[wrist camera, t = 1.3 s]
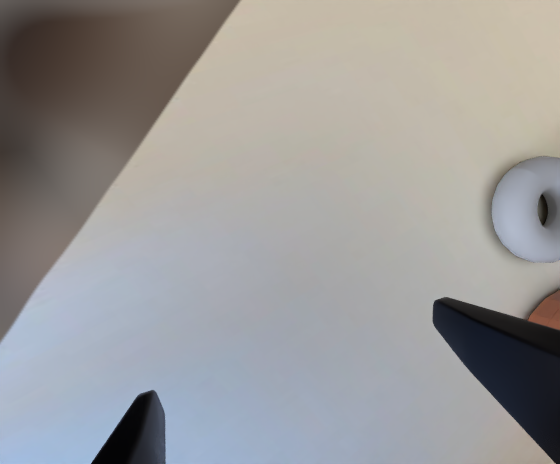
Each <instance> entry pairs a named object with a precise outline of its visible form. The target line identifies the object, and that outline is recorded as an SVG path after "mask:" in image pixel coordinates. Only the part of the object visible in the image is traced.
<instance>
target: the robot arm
mask: <svg viewBox="0 0 560 464" xmlns="http://www.w3.org/2000/svg"><path fill="white" fill-rule="evenodd" d="M433 324H434V326H435V328H436V329H437V330H438V332H439V333H440V334H441V335H442V337H443V338H444V339H445V341H446V342H447V343H448V344H449V346H450V347H451V348H452V350H453V351H454V352H455V353H456V355H457V356H458V357H459V359H460V360H461V361H462V362H463V364H464V365H465V366H466V367H467V368H468V369H469V371H470V372H471V373H472V374H473V375H474V376H475V377H476V378H477V379H478V380H479V381H480V383H481V384H482V385H483V386H484V387H485V388H486V389H487V390H488V391H489V392H490V393H491V394H492V395H493V397H494V398H495V399H496V400H497V401H498V402H499V403H500V404H501V405H502V406H503V407H504V408H505V409H506V411H507V412H508V413H509V414H510V415H511V416H512V417H513V418H514V419H515V420H516V421H517V422H518V423H519V425H520V426H521V427H522V428H523V429H524V430H525V431H526V432H527V433H528V434H529V435H530V436H531V437H532V438H533V440H534V441H535V442H536V443H537V444H538V445H539V446H540V447H541V448H542V449H543V450H544V451H545V452H546V454H547V455H548V456H549V457H550V458H551V459H552V460H553V461H554V462H555V463H556V464H560V330H558V329H555V328H551V327H548V326H545V325H541V324H538V323H534V322H531V321H527V320H524V319H520V318H517V317H514V316H510V315H507V314H503V313H500V312H496V311H493V310H489V309H486V308H483V307H479V306H476V305H472V304H469V303H465V302H462V301H458V300H455V299H452V298H448V297H444V298H441V299H438V300H435V302H434V304H433ZM91 464H165V413H164V409H163V407H162V405H161V402H160V400H159V398H158V395H157V393H156V392H155V391H154V390H151V391H148V392H144V393H141V394H139V395H138V396H137V397H136V399H135V400H134V402H133V403H132V405H131V406H130V408H129V409H128V410H127V412H126V413H125V415H124V416H123V418H122V419H121V421H120V422H119V424H118V425H117V427H116V428H115V429H114V431H113V432H112V434H111V435H110V437H109V438H108V440H107V441H106V443H105V444H104V446H103V447H102V448H101V450H100V451H99V453H98V454H97V456H96V457H95V459H94V460H93V462H92V463H91Z"/></svg>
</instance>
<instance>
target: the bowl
mask: <svg viewBox="0 0 560 464" xmlns="http://www.w3.org/2000/svg"><path fill="white" fill-rule="evenodd" d="M528 321H531V322H534V323H538V324H541V325H545V326H548V327H551V328H555V329H558V330H560V290H559V291H557V292H555V293H554V294H552V295H550V296H548V297H546V298H545V299H544V300H543V301H542V303H541V304H540V305H539V306H538V307H537V308H536V309H535V310H534V311H533V312H532V314H531V315H530V317H529V319H528Z"/></svg>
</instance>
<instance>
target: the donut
mask: <svg viewBox="0 0 560 464" xmlns="http://www.w3.org/2000/svg"><path fill="white" fill-rule="evenodd" d="M541 194H542V195H543V196H544V197H545V199H546V201H547V206H548V216H547V219H546V222H545V224H544V226H542V224H541V222H540V220H539V217H538V212H537V210H538V201H539V198H540V196H541ZM492 220H493V224H494V229H495V231H496V233H497V235H498V237H499V239H500V241H501V242H502V244H503V245H504V246H505V247H506V248H508V249H509V250H510V251H511V252H512V253H513V254H514V255H516V256H518V257H521V258H523V259H525V260H527V261H531V262H541V263H551V262H556V261H558V260H560V158H557V157H548V156H539V157H535V158H532V159H528V160H525V161H522V162H520V163H519V164H517V165H516V166H515V167H513V168H512V169H511V170H509V171H508V172H507V173H506V174H505V175H504V176H503V178H502V179H501V181H500V182H499V184H498V185H497V188H496V191H495V194H494V197H493V200H492Z"/></svg>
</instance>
